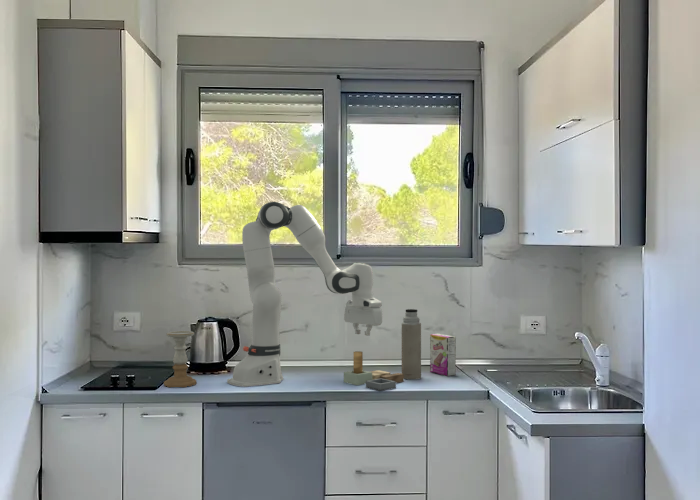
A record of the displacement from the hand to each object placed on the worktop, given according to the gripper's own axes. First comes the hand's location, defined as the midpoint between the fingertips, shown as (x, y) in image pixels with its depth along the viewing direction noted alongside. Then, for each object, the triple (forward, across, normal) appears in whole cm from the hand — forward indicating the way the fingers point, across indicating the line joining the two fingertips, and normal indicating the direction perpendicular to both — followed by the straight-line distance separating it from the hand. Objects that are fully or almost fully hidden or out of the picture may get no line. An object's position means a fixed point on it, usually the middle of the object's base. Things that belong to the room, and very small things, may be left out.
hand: (362, 334), depth 257 cm
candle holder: (+17, -33, -65) cm, 75 cm away
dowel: (+17, +8, -10) cm, 22 cm away
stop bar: (+17, +18, 0) cm, 24 cm away
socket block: (+17, +8, -10) cm, 22 cm away
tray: (+17, +22, -10) cm, 29 cm away
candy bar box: (+17, +18, +29) cm, 39 cm away
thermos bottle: (+17, +16, +13) cm, 27 cm away
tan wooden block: (+18, +8, 0) cm, 19 cm away
